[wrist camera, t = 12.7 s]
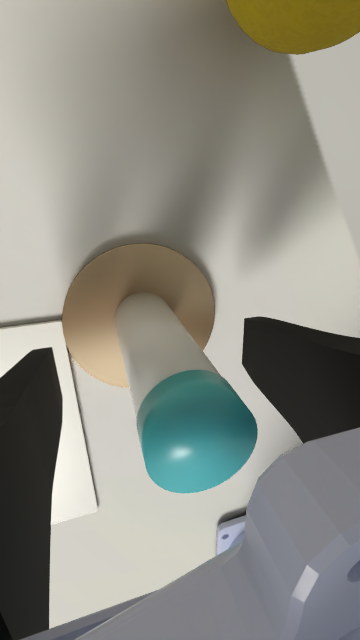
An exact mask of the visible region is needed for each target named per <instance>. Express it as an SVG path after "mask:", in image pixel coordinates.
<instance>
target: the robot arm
mask: <svg viewBox="0 0 360 640" xmlns="http://www.w3.org/2000/svg"><path fill="white" fill-rule="evenodd" d="M242 364H243V366H244V368H245V369H246V371H247V373H248V375H249V376H250V378H251V379H252V381H253V382H254V383H255V385H256V386H257V387H258V388H259V389H260V391H261V392H262V393H263V394H264V395H265V397H266V398H267V399H268V400H269V401H270V402H271V403H272V405H273V406H274V407H275V408H276V409H277V410H278V411H279V413H280V414H281V415H282V416H283V417H284V418H285V420H286V421H287V422H288V423H289V424H290V426H291V427H292V428H293V429H294V431H295V432H296V433H297V435H298V436H299V438H300V439H301V441H302V442H303V443H304V444H302V445H300V446H298V447H296V448H294V449H292V450H290V451H288V452H286V453H284V454H282V455H280V456H279V457H278V458H277V459H276V460H275V461H274V462H273V463H272V464H271V465H270V466H269V467H268V468H267V469H266V470H265V471H264V472H263V474H262V475H261V476H260V477H259V478H258V480H257V483H256V486H255V488H254V491H253V493H252V496H251V498H250V501H249V504H248V506H247V509H246V515H245V516H242V517H239V518H235V519H232V520H229V521H226V522H223V523H221V524H220V525H219V526H218V528H217V548H216V556H215V557H214V558H212V559H210V560H209V561H207V562H205V563H203V564H202V565H200V566H198V567H197V568H195V569H193V570H192V571H190V572H188V573H187V574H185V575H183V576H181V577H180V578H178V579H176V580H175V581H173V582H171V583H170V584H168V585H166V586H165V587H163V588H161V589H159V590H156V591H154V592H151V593H148V594H145V595H143V596H140V597H137V598H134V599H131V600H129V601H126V602H123V603H120V604H118V605H115V606H112V607H109V608H106V609H104V610H101V611H98V612H95V613H93V614H90V615H87V616H84V617H81V618H79V619H76V620H73V621H70V622H68V623H65V624H62V625H59V626H56V627H54V628H51V629H49V576H50V535H51V508H52V491H53V481H54V474H55V468H56V461H57V455H58V448H59V442H60V435H61V428H62V416H63V397H62V392H61V387H60V382H59V378H58V373H57V368H56V364H55V359H54V354H53V349H52V347H48V348H41V349H34V350H32V351H30V352H29V353H28V354H27V355H25V356H24V357H23V358H22V359H21V360H20V361H19V362H18V363H16V364H15V365H14V366H13V367H12V368H11V369H10V370H9V371H7V372H6V373H5V374H4V375H3V376H2V377H1V378H0V640H360V338H355V337H348V336H343V335H337V334H333V333H328V332H324V331H319V330H315V329H311V328H307V327H303V326H299V325H296V324H292V323H288V322H284V321H280V320H276V319H272V318H267V317H252V318H245V319H244V337H243V354H242Z"/></svg>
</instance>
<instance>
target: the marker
mask: <svg viewBox="0 0 360 640" xmlns="http://www.w3.org/2000/svg"><path fill="white" fill-rule="evenodd" d="M114 325H115V330H116V334H117V338H118V342H119V346H120V351H121V355H122V359H123V363H124V367H125V372H126V376H127V380H128V384H129V388H130V392H131V397H132V401H133V405H134V409H135V413H136V418H137V430H138V435H139V439H140V444H141V448H142V452H143V457H144V461H145V465H146V469H147V472H148V474H149V476H150V478H151V479H152V480H153V481H154V482H155V483H156V484H157V485H158V486H160V487H161V488H163V489H165V490H168V491H171V492H176V493H194V492H200V491H204V490H207V489H210V488H212V487H215V486H217V485H219V484H221V483H223V482H224V481H226V480H227V479H229V478H230V477H231V476H233V475H234V474H235V473H236V472H237V471H238V470H240V469H241V467H242V466H243V465H244V464H245V463H246V461H247V460H248V459H249V457H250V455H251V454H252V452H253V449H254V447H255V444H256V440H257V424H256V421H255V418H254V416H253V414H252V413H251V412H250V410H249V409H248V408H247V406H246V405H245V404H244V402H243V401H242V400H241V399H240V397H239V396H238V395H237V393H236V392H235V391H234V389H233V388H232V387H231V385H230V384H229V383H228V382H227V381H226V380H225V379H224V378H223V377H222V376H221V375H220V374H219V373H218V371H217V370H216V369H215V367H214V366H213V365H212V363H211V362H210V361H209V359H208V358H207V357H206V355H205V354H204V353H203V351H202V350H201V349H200V347H199V346H198V345H197V343H196V342H195V341H194V339H193V338H192V337H191V335H190V334H189V333H188V331H187V330H186V329H185V327H184V326H183V325H182V323H181V322H180V321H179V319H178V318H177V317H176V315H175V314H174V313H173V311H172V310H171V309H170V307H169V306H168V305H167V303H166V302H165V301H164V300H163V299H162V298H161V297H159V296H158V295H156V294H153V293H149V292H140V293H135V294H132V295H130V296H128V297H127V298H125V299H124V300H123V301H122V302H121V303H120V305H119V306H118V308H117V310H116V312H115V316H114Z"/></svg>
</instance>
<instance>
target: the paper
mask: <svg viewBox="0 0 360 640" xmlns="http://www.w3.org/2000/svg"><path fill="white" fill-rule="evenodd" d="M48 347H52V349H53V354H54V359H55V364H56V368H57V373H58V378H59V382H60V387H61V392H62V397H63V416H62V428H61V435H60V442H59V448H58V455H57V461H56V468H55V474H54V481H53V491H52V508H51V525H52V524H56V523H59V522H63V521H66V520H70V519H73V518H77V517H80V516H84V515H87V514H91V513H94V512H98V506H97V501H96V496H95V490H94V485H93V480H92V475H91V470H90V464H89V459H88V454H87V449H86V444H85V438H84V433H83V428H82V423H81V418H80V412H79V407H78V402H77V397H76V392H75V386H74V381H73V376H72V371H71V366H70V360H69V355H68V350H67V345H66V342H65V338H64V335H63V327H62V320H56V321H48V322H40V323H32V324H25V325H17V326H9V327H1V328H0V378H1V377H2V376H3V375H4V374H5V373H6V372H7V371H9V370H10V369H11V368H12V367H13V366H14V365H15V364H16V363H18V362H19V361H20V360H21V359H22V358H23V357H24V356H25V355H27V354H28V353H29V352H30V351H32V350H34V349H41V348H48Z"/></svg>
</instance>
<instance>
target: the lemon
mask: <svg viewBox="0 0 360 640" xmlns="http://www.w3.org/2000/svg"><path fill="white" fill-rule="evenodd" d="M226 2H227V4H228V7H229V9H230V12H231V13H232V15H233V17H234V18H235V20H236V21H237V23H238V24H239V26H240V27H241V29H242V30H243V31H244V32H245V33H246V34H247V35H248V36H249V37H250V38H251V39H253V40H254V41H255V42H256V43H257V44H259V45H261V46H263V47H265V48H267V49H269V50H272V51H274V52H279V53H288V54H305V53H309V52H313V51H317V50H321V49H325V48H329V47H332V46H335V45H337V44H340V43H342V42H343V41H345V40H347V39H349V38H350V37H352V36H354V35H355V34H357V33H359V32H360V0H226Z"/></svg>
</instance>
